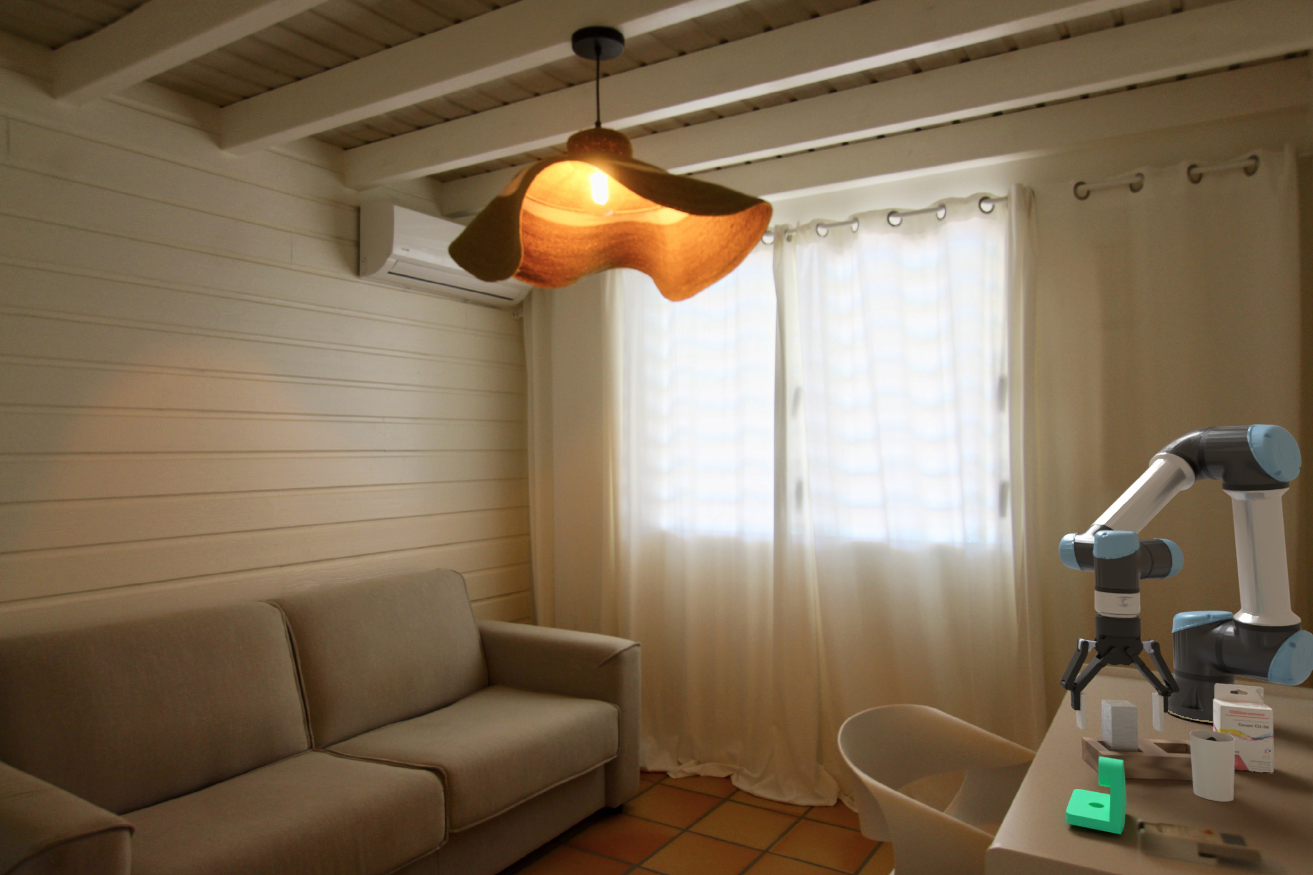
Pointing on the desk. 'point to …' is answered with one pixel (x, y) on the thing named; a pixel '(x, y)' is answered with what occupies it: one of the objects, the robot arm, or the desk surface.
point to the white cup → (1212, 764)
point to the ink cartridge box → (1245, 725)
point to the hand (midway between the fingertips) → (1119, 729)
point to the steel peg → (1119, 726)
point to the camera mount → (1101, 800)
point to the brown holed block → (1145, 758)
